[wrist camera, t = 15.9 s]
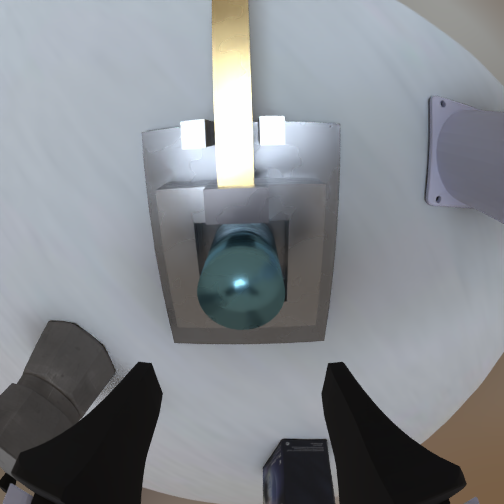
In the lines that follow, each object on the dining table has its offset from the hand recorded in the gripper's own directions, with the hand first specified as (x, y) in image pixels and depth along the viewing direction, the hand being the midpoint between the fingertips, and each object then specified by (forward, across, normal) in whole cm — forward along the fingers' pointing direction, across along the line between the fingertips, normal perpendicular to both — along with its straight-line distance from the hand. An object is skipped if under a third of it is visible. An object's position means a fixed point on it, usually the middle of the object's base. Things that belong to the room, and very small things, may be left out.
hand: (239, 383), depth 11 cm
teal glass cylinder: (+9, 0, -2) cm, 10 cm away
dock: (+10, 0, -2) cm, 10 cm away
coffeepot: (+10, +17, +10) cm, 22 cm away
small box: (+10, -5, +29) cm, 31 cm away
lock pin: (+7, 0, -13) cm, 15 cm away
